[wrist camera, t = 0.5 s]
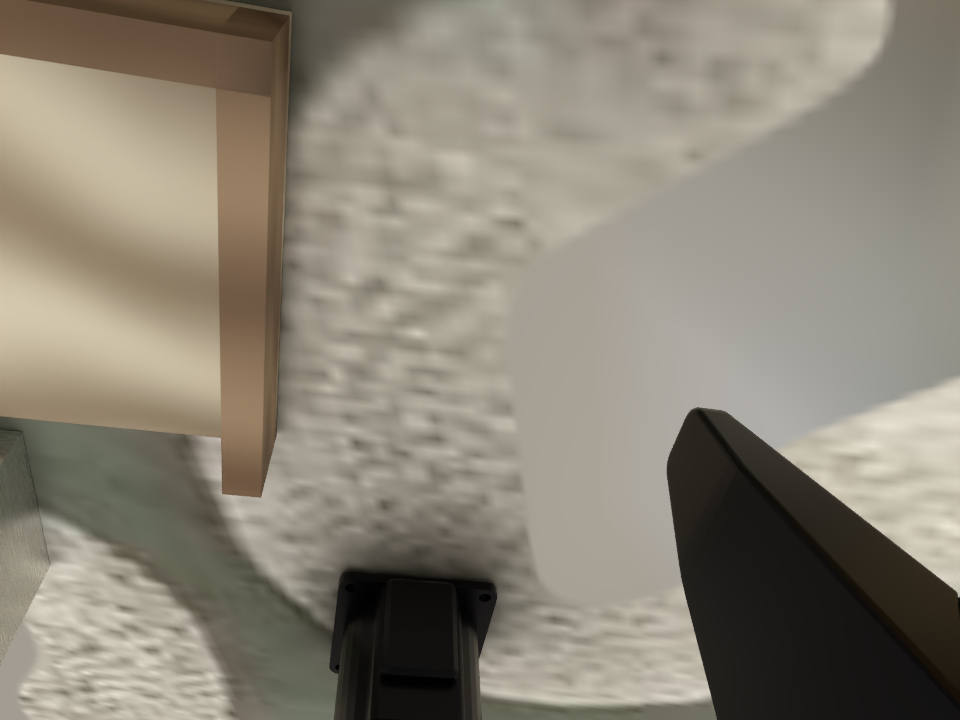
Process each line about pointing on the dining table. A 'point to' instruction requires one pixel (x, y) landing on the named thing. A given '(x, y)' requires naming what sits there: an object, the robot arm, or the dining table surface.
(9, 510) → the bracket
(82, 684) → the dining table surface
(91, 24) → the arena
